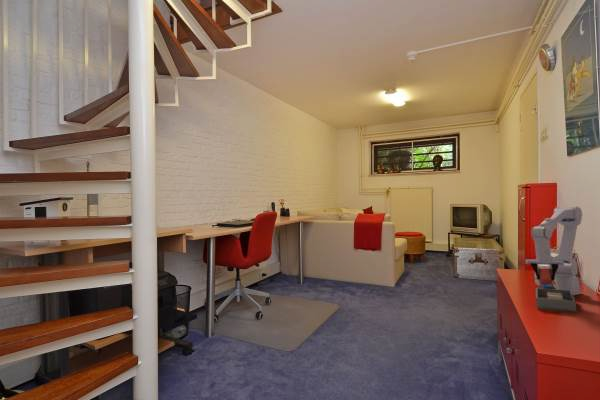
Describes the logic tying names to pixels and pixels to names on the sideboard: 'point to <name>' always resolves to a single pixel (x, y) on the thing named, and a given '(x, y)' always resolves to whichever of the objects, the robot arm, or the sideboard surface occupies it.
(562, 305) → the tote
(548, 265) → the ink box
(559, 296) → the cube
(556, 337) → the sideboard surface
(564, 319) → the sideboard surface
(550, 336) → the sideboard surface
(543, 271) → the capsule
